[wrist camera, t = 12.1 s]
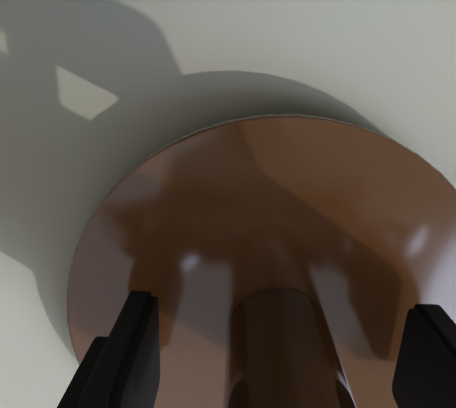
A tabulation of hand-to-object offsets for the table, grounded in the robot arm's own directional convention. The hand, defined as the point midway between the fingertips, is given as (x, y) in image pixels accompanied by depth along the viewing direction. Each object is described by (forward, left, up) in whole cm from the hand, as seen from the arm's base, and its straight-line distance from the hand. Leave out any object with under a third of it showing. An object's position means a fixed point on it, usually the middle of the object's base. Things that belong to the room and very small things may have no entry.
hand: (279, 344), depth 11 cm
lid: (0, 0, -1) cm, 1 cm away
